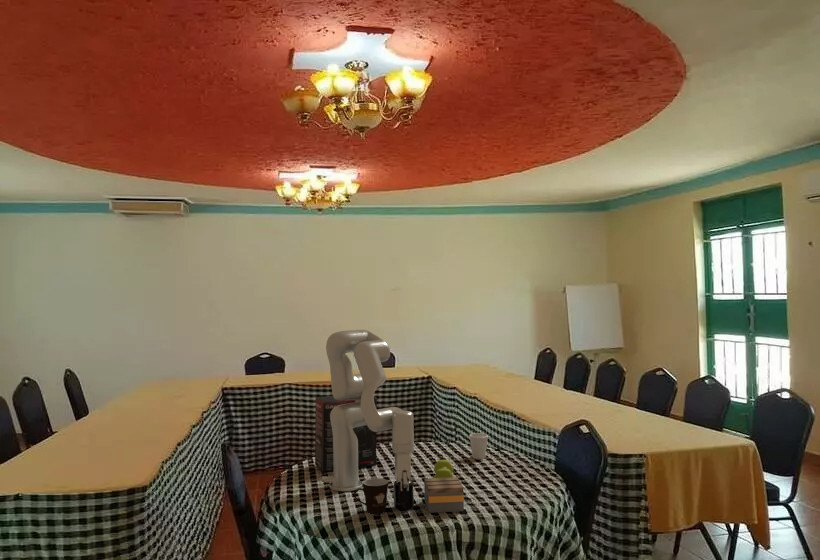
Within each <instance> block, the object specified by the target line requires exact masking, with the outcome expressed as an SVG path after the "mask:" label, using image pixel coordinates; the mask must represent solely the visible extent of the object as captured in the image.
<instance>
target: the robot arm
mask: <svg viewBox="0 0 820 560" xmlns="http://www.w3.org/2000/svg"><path fill="white" fill-rule="evenodd" d="M325 350H326V356H327V360H328V363H329V370H330V383H331V392H332V396H334V398H335V399H336V400H339V401H343V400H350V399H355V402H354V403H347V404H342V405H338V406H336V407H335V408H333V410H332V411H331V414H330V420H331V425H332V431H333V471H332V472H333V473H332V475H331V474H330V476H326V475H325V476H321V482H324V483H326V484H327V483H329V489H330V490H332V491H335V492H352V491H355V490H357V489H358V488H363V481H362V480H361V479H360V480H359V468H358V439H357V436H356V434H355V433H354V431H353V428H355V427H360V426H365V425H367V426H368V428H369V429H370V430H371V431H374V432H376V433H377V432H383V431H388V430H391V434H392V435H391V437H392V438H391V440H392V441H391V446H392V447H391V449H392V453H393V454H394V478H395V481H396V482H397V483H398V482H400V488H401V490H400V502H401V503H405V502H409V484H408V482H410V480H411V479H412V478H411V476H412V472H411V471H412V467H411V466H412V465H411V464H412V463H411V462H412V459H411V458H412V455H411V454H412V453H414V452H415V435H414V433H415V432H414V431H415V429H414V421H415V420H414V418H415V417H414V412H412V411H409V410H405V409H404V410H403V409H401V408H399V407H398V406H390V407H384V408H379V409H376V407H375V404H374V395H375V392H376V389H378V388H379V387H380V386H382V385H383V384H384V383H386V380H387V376H386V373H385V370H384V367H383V365H382V363H384V362H387V361H388V360H389V359H390V356H391V348H390V346H389V344H388V343H387V342H386V341H385V340H384V339H383V338H381V337H379V336H378V335H376V334H374V333H373V332H371V331H370V330H366V329H352V330H340V331H336V332H334V333H332V334H330V335H329V336H328V338H327V340H326V343H325ZM348 353H353V357H354V359H355V363H356V365H357V368H358V370H359V373H353V364H352V361H351V359H350V357H349V356H348V355H347V354H348ZM402 472H403V475H402ZM401 480H403V481H401ZM402 484H403V485H402Z"/></svg>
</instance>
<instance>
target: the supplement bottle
mask: <svg viewBox="0 0 820 560" xmlns="http://www.w3.org/2000/svg"><path fill="white" fill-rule="evenodd" d="M402 475H403V472H402ZM401 481H403V480H401ZM408 484H409V502H405V503H401V502H400V490H401V488H400V482H398V483H397V482H396V480H395V481H394V482H393V508H394V509H396V510H397V511H401V510H405V511H409V509H410V510H412V509H413V508H414V507H415V506H414V500H415V499H414V482H413V480H411V479H410V482H408ZM402 485H403V484H402Z"/></svg>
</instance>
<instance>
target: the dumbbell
mask: <svg viewBox="0 0 820 560" xmlns="http://www.w3.org/2000/svg"><path fill="white" fill-rule="evenodd" d="M433 471H434V473H435V474H434V476H433V478H452V477H455V476H454V475H453V472H454V466H453V465H452V463H451V462H450V460H449V459H439V460H437V462H436V463H435V465H434V467H433Z"/></svg>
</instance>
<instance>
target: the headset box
mask: <svg viewBox="0 0 820 560" xmlns="http://www.w3.org/2000/svg"><path fill="white" fill-rule="evenodd" d="M377 400H378V398H377V396H374V404H375V407H376V409H377V408H378V405H377V404H378V401H377ZM354 402H355V399H350V400H343V401H339V400H336V399H335V398H334V396H333V395H327V396H315V433H314V434H315V437H314V438H315V439H314V442H315V445H314V447H315V449H314V454H315V455H314V462H315V463H314V465H315V466H316V467H317V468H318V469H319V470H320V471H321V472H322V473H325V472H334V471H333V431H332V425H331V420H330V414H331V411H332V410H333V408H335V407H336V406H338V405H342V404H347V403H354ZM377 410H378V409H377ZM353 431H354V433H355V434H356V436H357V439H358V469H359V468H367V467H374V466H377V432H374V431H371V430H370V429H369V428H368V426H367V425H365V426H360V427H355V428H353Z"/></svg>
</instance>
